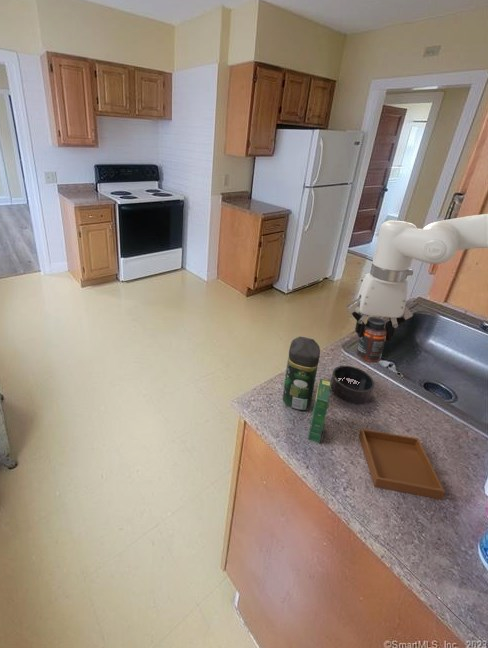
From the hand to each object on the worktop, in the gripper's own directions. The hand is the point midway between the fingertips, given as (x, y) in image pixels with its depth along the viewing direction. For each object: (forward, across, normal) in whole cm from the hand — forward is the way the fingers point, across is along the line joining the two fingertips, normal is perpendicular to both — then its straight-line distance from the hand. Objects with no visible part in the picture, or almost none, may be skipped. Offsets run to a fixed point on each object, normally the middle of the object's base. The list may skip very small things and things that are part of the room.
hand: (372, 335), depth 84 cm
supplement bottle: (+7, 0, 0) cm, 7 cm away
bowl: (+21, +1, -4) cm, 22 cm away
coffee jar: (+21, +17, +4) cm, 28 cm away
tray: (+22, -4, +20) cm, 29 cm away
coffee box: (+21, +13, +14) cm, 29 cm away
